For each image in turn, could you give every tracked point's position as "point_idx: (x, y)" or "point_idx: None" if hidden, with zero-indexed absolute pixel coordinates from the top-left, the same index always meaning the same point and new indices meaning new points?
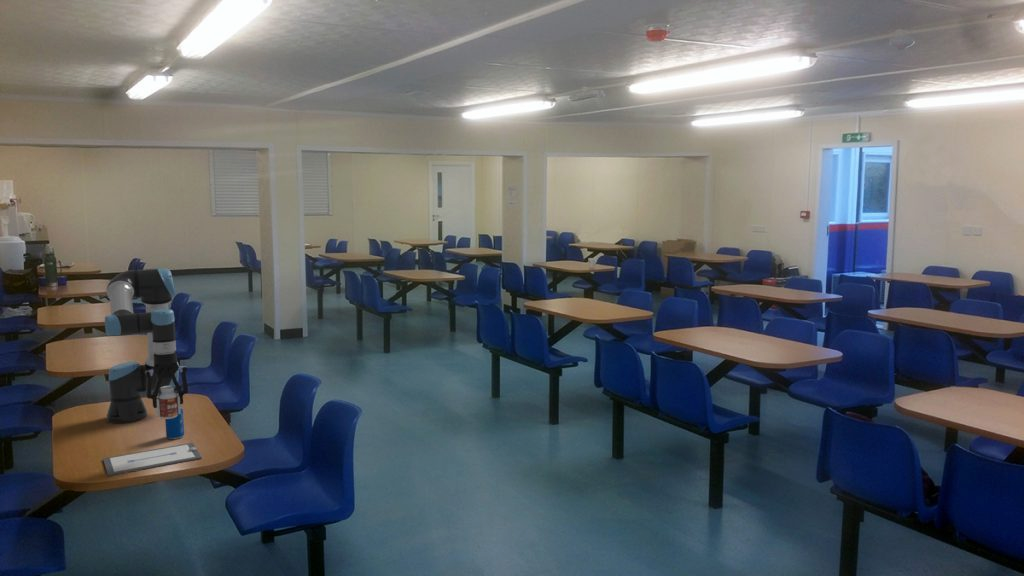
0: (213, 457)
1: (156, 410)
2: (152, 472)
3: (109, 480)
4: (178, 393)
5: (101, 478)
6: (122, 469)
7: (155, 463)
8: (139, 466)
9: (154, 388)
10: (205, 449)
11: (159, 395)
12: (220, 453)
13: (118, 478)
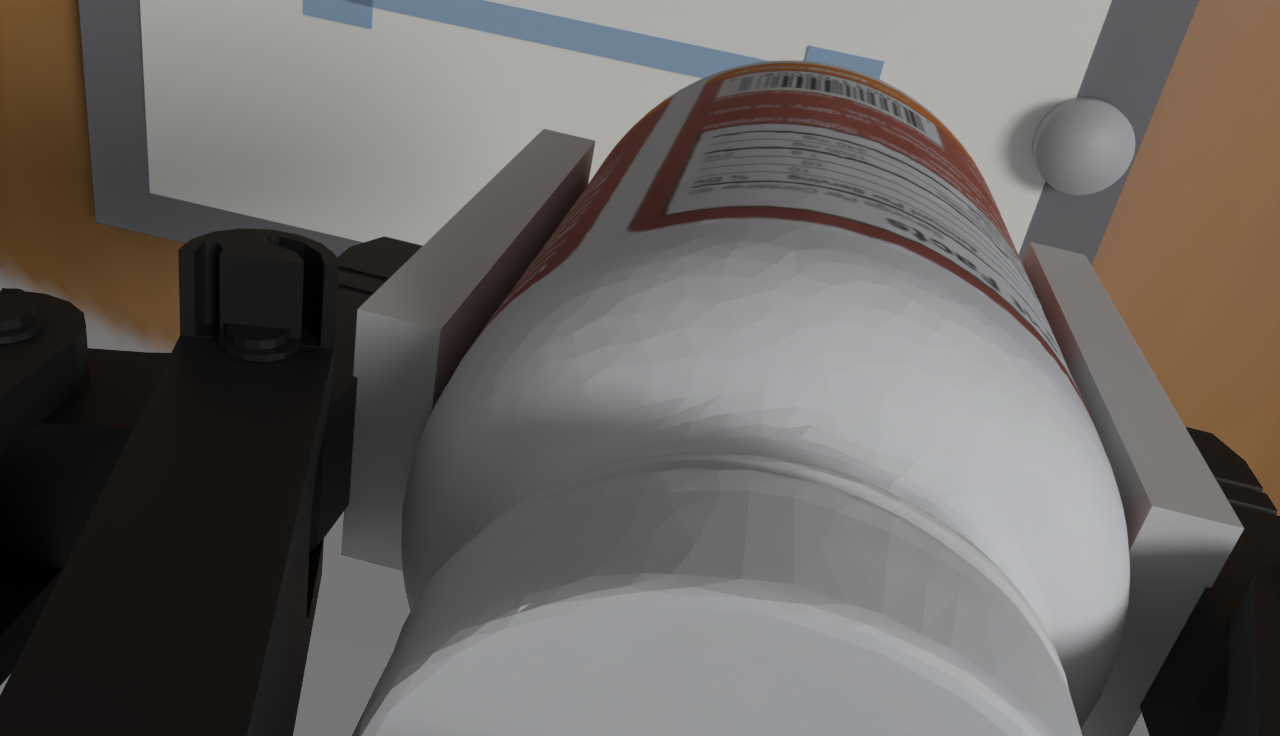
0: None
1: (506, 168)
2: None
3: (117, 328)
4: (1229, 638)
5: (52, 225)
6: (227, 194)
7: None
8: (390, 234)
9: (64, 609)
10: (1252, 159)
11: (410, 595)
12: (1272, 426)
13: None
